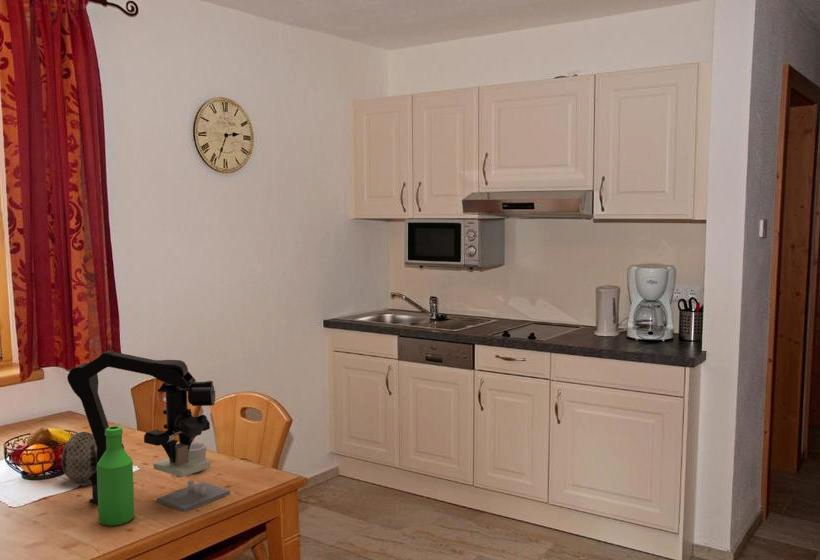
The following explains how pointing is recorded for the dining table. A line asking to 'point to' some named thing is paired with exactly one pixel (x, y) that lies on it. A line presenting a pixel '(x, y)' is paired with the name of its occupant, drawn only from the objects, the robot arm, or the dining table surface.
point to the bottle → (115, 481)
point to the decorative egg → (80, 457)
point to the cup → (197, 451)
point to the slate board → (193, 496)
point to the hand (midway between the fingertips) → (179, 460)
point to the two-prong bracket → (181, 463)
